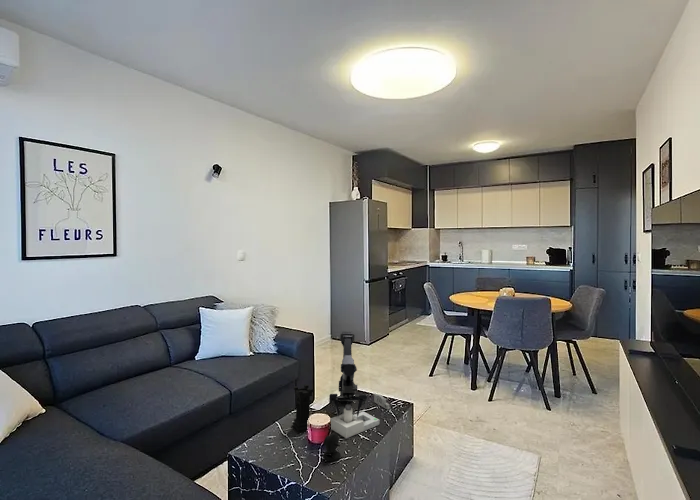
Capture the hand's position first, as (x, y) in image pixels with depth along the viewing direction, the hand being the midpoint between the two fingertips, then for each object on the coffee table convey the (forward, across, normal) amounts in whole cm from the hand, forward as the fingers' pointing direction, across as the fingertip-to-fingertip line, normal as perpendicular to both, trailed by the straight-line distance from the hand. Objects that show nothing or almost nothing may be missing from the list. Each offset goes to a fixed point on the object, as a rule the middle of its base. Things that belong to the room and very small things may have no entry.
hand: (348, 416), depth 187 cm
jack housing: (+2, +4, +8) cm, 9 cm away
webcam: (+22, -8, -11) cm, 25 cm away
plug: (+4, 0, +6) cm, 7 cm away
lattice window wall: (-15, +20, +26) cm, 36 cm away
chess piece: (+4, -22, +6) cm, 23 cm away
